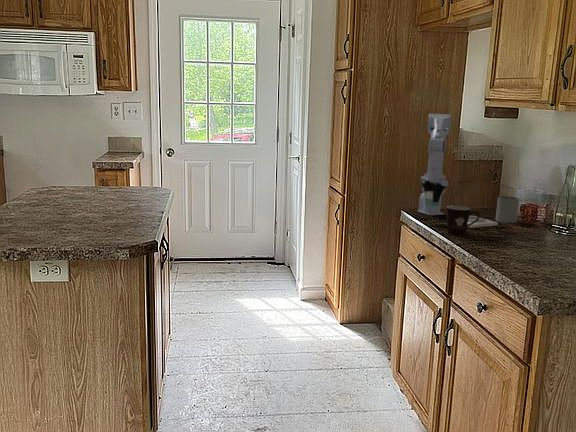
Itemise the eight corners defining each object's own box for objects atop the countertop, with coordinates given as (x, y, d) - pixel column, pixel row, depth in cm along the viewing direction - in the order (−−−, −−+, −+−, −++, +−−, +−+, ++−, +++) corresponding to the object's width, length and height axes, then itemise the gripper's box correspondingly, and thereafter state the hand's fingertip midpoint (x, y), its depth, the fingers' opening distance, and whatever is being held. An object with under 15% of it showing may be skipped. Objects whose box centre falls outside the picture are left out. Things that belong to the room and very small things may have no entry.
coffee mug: (442, 234, 212) (444, 208, 210) (447, 229, 220) (449, 204, 218) (474, 238, 207) (476, 211, 205) (478, 233, 215) (480, 208, 213)
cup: (517, 223, 236) (520, 200, 234) (497, 222, 237) (499, 198, 235) (514, 219, 244) (516, 196, 242) (494, 218, 246) (496, 195, 244)
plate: (447, 220, 237) (447, 215, 237) (472, 218, 243) (473, 213, 243) (471, 227, 225) (471, 222, 224) (497, 225, 231) (497, 220, 230)
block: (424, 204, 233) (425, 191, 232) (432, 203, 234) (433, 190, 233) (431, 206, 229) (432, 192, 228) (438, 205, 231) (440, 192, 230)
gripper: (416, 166, 233) (413, 198, 236) (439, 170, 221) (436, 204, 223) (429, 165, 236) (426, 197, 239) (453, 170, 224) (450, 203, 226)
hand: (432, 200), depth 232 cm, fingers closed on block, 4 cm apart
